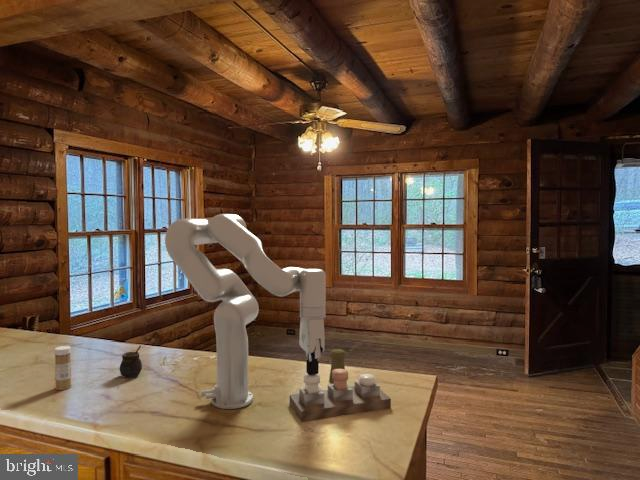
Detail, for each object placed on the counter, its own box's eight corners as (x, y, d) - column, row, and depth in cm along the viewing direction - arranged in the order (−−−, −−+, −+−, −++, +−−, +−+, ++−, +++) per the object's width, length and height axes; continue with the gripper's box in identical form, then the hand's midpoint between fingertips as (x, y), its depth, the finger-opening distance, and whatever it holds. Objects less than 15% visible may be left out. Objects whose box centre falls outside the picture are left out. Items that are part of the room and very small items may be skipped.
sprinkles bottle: (72, 384, 143) (71, 344, 143) (69, 389, 139) (69, 348, 138) (56, 386, 142) (56, 346, 141) (53, 391, 137) (52, 350, 137)
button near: (306, 395, 123) (306, 378, 122) (301, 389, 127) (301, 373, 127) (322, 393, 124) (322, 376, 124) (316, 387, 129) (316, 371, 129)
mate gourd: (114, 377, 150) (114, 349, 149) (131, 370, 157) (131, 343, 156) (130, 381, 147) (130, 352, 146) (146, 373, 154) (146, 346, 153)
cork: (345, 385, 146) (345, 353, 145) (327, 383, 147) (327, 351, 146) (347, 378, 152) (347, 347, 151) (330, 377, 153) (331, 346, 152)
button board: (301, 422, 119) (301, 401, 118) (289, 404, 130) (289, 385, 130) (390, 408, 128) (391, 388, 128) (372, 392, 139) (372, 374, 139)
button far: (363, 396, 129) (363, 380, 129) (356, 390, 133) (356, 374, 133) (377, 394, 131) (377, 378, 130) (370, 388, 135) (370, 373, 135)
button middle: (335, 391, 126) (335, 375, 125) (329, 385, 130) (329, 369, 130) (350, 389, 127) (350, 373, 127) (344, 383, 132) (344, 368, 132)
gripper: (293, 307, 130) (293, 366, 131) (308, 318, 116) (308, 384, 117) (316, 305, 133) (316, 364, 134) (334, 316, 119) (333, 381, 120)
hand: (312, 373), depth 125 cm, fingers closed
